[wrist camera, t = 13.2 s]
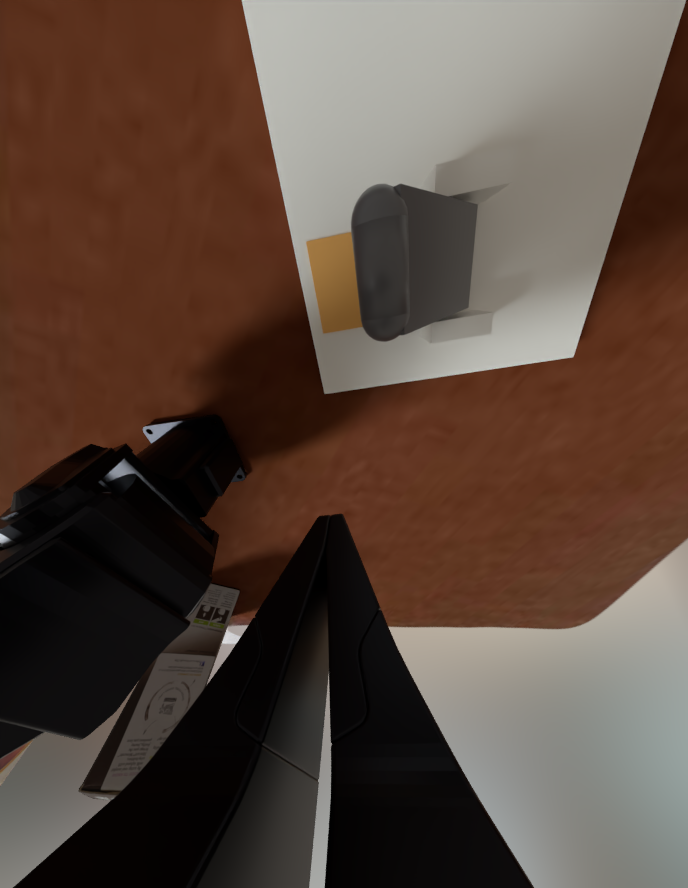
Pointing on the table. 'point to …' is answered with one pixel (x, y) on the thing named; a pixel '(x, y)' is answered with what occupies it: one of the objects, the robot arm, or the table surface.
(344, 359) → the breaker panel
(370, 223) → the breaker lever
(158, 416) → the table surface
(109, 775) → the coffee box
